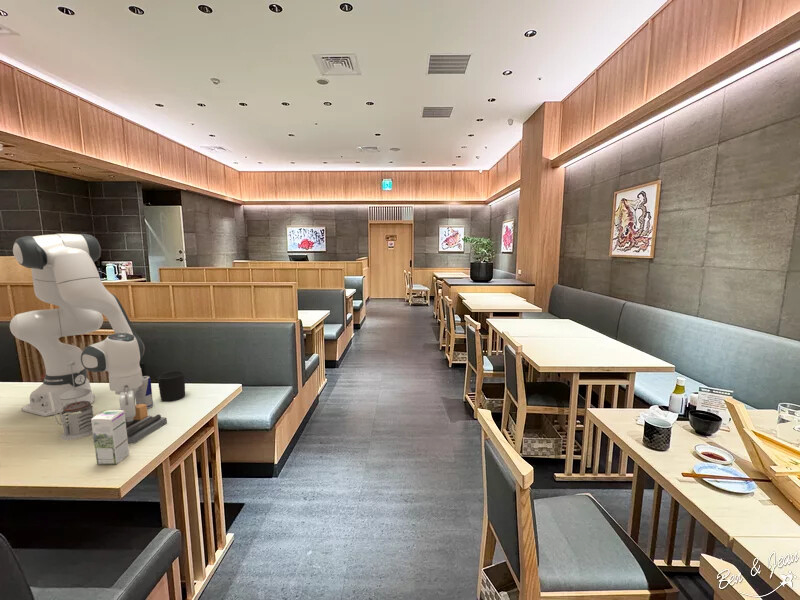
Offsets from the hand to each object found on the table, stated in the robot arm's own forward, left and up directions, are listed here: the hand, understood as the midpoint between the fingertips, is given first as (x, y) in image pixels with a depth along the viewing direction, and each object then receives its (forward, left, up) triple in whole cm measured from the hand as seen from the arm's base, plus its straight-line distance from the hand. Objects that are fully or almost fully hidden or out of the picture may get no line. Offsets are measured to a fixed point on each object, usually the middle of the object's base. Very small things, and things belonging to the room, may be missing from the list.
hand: (130, 420), depth 122 cm
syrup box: (+9, -15, -4) cm, 18 cm away
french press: (-17, -4, -4) cm, 18 cm away
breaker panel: (0, 0, -4) cm, 4 cm away
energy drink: (-11, +17, -4) cm, 21 cm away
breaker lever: (0, +4, -2) cm, 4 cm away
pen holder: (-7, +27, -4) cm, 28 cm away
